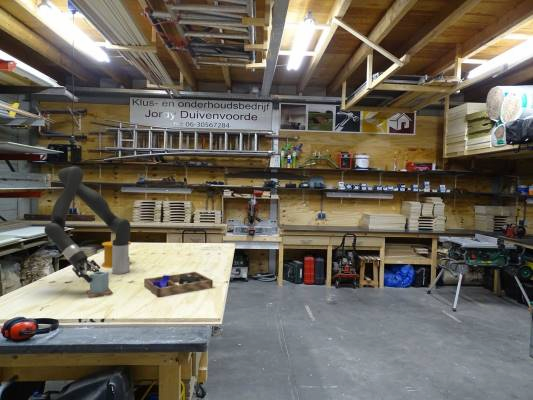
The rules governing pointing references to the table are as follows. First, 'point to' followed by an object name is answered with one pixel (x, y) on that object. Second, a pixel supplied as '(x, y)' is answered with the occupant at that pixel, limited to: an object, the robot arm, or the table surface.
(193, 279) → the bicycle component
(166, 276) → the cable clip
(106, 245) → the spool
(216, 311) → the table surface
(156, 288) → the frame
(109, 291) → the pin stand
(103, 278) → the collar
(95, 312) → the table surface
